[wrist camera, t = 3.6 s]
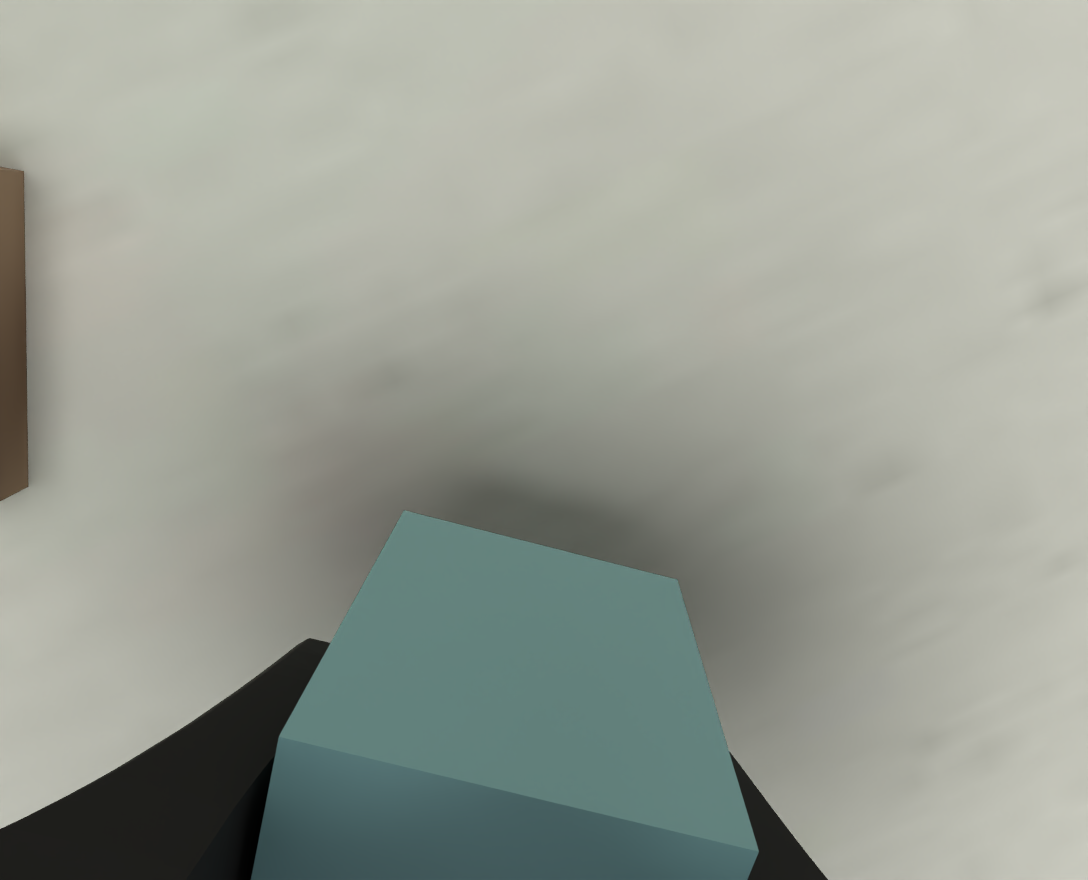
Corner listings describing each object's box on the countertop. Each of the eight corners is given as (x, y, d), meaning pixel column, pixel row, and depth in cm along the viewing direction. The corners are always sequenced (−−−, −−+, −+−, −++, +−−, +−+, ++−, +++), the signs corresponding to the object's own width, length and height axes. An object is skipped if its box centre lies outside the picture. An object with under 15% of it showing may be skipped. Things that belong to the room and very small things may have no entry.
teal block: (600, 804, 12) (622, 1180, 8) (350, 744, 12) (210, 1089, 7) (677, 579, 11) (759, 850, 6) (403, 510, 11) (278, 736, 6)
